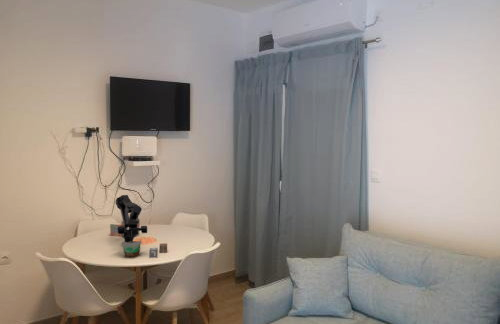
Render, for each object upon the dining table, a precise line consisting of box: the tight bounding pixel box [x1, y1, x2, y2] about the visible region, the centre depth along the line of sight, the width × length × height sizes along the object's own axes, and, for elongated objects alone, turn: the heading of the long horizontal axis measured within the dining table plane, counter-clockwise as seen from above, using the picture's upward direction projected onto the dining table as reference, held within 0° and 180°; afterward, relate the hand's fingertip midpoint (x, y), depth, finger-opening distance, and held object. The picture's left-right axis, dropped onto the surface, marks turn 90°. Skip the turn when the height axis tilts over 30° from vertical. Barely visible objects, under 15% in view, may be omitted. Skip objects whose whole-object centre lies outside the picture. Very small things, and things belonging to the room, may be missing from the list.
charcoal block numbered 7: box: [148, 247, 159, 258], centre depth 243 cm, size 5×5×5 cm
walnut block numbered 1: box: [158, 242, 168, 254], centre depth 253 cm, size 5×5×5 cm
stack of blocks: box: [109, 219, 141, 238], centre depth 290 cm, size 21×6×12 cm, turn 84°
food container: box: [121, 239, 142, 258], centre depth 241 cm, size 12×6×10 cm, turn 103°
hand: (131, 241), depth 241 cm, fingers closed, pressing on food container
